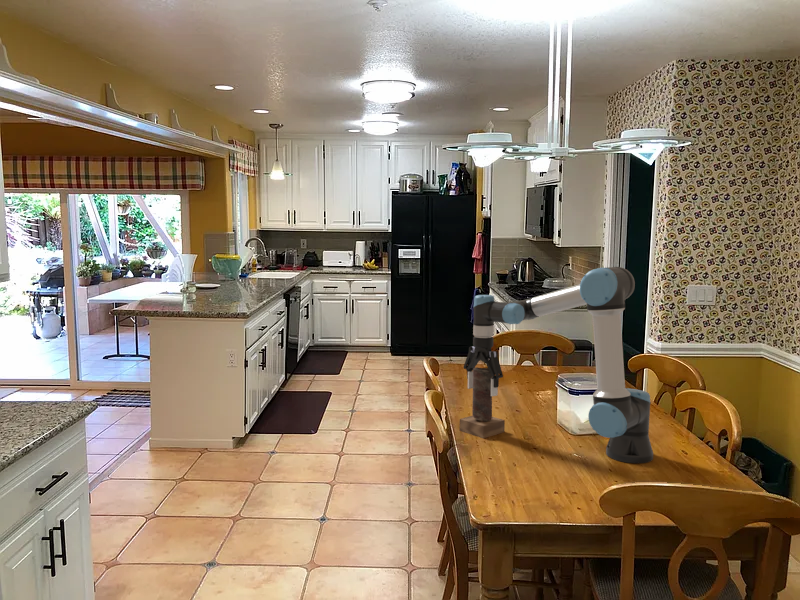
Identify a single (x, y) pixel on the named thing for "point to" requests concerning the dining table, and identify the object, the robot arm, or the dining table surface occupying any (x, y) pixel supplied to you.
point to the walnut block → (482, 426)
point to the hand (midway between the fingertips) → (482, 391)
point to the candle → (482, 394)
